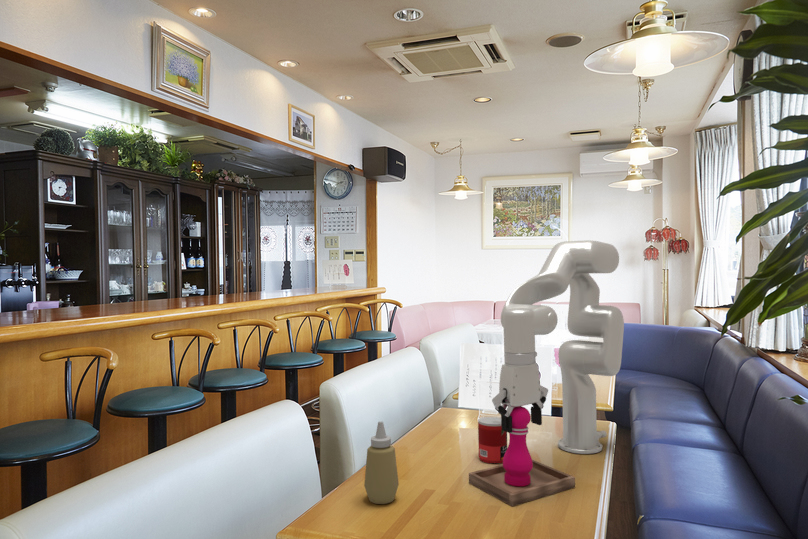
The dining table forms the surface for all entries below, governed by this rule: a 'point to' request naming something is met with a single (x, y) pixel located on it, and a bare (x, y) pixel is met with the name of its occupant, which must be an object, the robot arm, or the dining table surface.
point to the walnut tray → (540, 486)
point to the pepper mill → (518, 450)
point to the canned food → (491, 440)
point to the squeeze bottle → (381, 468)
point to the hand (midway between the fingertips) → (521, 427)
